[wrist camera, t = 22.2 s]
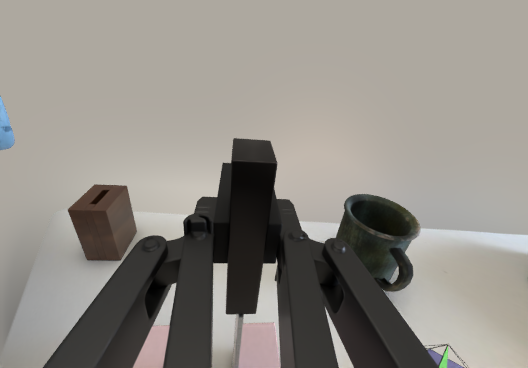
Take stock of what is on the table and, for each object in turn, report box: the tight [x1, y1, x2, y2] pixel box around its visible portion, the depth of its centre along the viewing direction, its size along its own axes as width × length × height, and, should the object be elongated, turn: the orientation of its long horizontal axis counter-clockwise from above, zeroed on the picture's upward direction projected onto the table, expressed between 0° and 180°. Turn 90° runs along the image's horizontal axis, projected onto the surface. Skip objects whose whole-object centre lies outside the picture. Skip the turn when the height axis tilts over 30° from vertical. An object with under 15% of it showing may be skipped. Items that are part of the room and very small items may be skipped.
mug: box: [336, 194, 420, 291], centre depth 37 cm, size 11×15×12 cm
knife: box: [226, 138, 277, 368], centre depth 16 cm, size 2×3×23 cm, turn 5°
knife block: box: [68, 185, 137, 260], centre depth 38 cm, size 5×7×10 cm
